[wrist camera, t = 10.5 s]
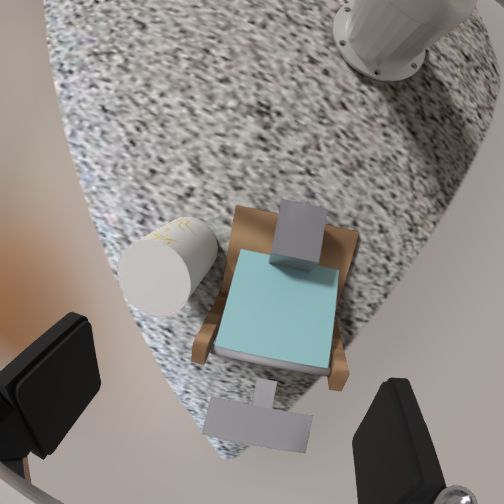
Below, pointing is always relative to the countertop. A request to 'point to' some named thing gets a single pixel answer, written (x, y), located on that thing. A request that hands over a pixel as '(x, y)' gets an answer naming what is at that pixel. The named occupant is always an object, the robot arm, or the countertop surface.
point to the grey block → (298, 236)
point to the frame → (260, 240)
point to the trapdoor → (273, 346)
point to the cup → (167, 266)
